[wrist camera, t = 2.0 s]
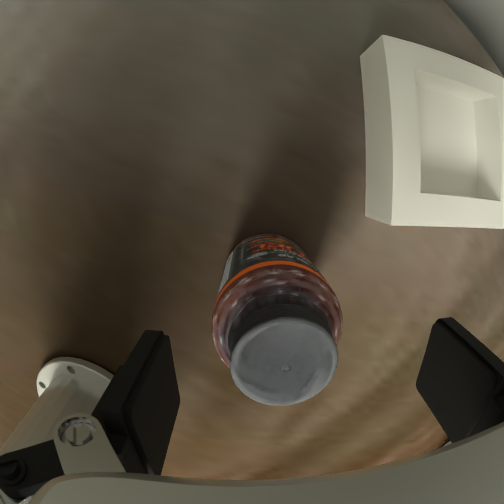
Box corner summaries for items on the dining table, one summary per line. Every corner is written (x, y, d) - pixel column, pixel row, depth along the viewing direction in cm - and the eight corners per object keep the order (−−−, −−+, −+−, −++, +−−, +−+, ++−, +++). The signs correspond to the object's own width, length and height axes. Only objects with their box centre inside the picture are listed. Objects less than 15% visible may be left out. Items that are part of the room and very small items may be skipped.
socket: (480, 220, 21) (512, 229, 17) (364, 216, 20) (391, 225, 16) (477, 88, 18) (507, 80, 14) (359, 56, 18) (382, 34, 13)
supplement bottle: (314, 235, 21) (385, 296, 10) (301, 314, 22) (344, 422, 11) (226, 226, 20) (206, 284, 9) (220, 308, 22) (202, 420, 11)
